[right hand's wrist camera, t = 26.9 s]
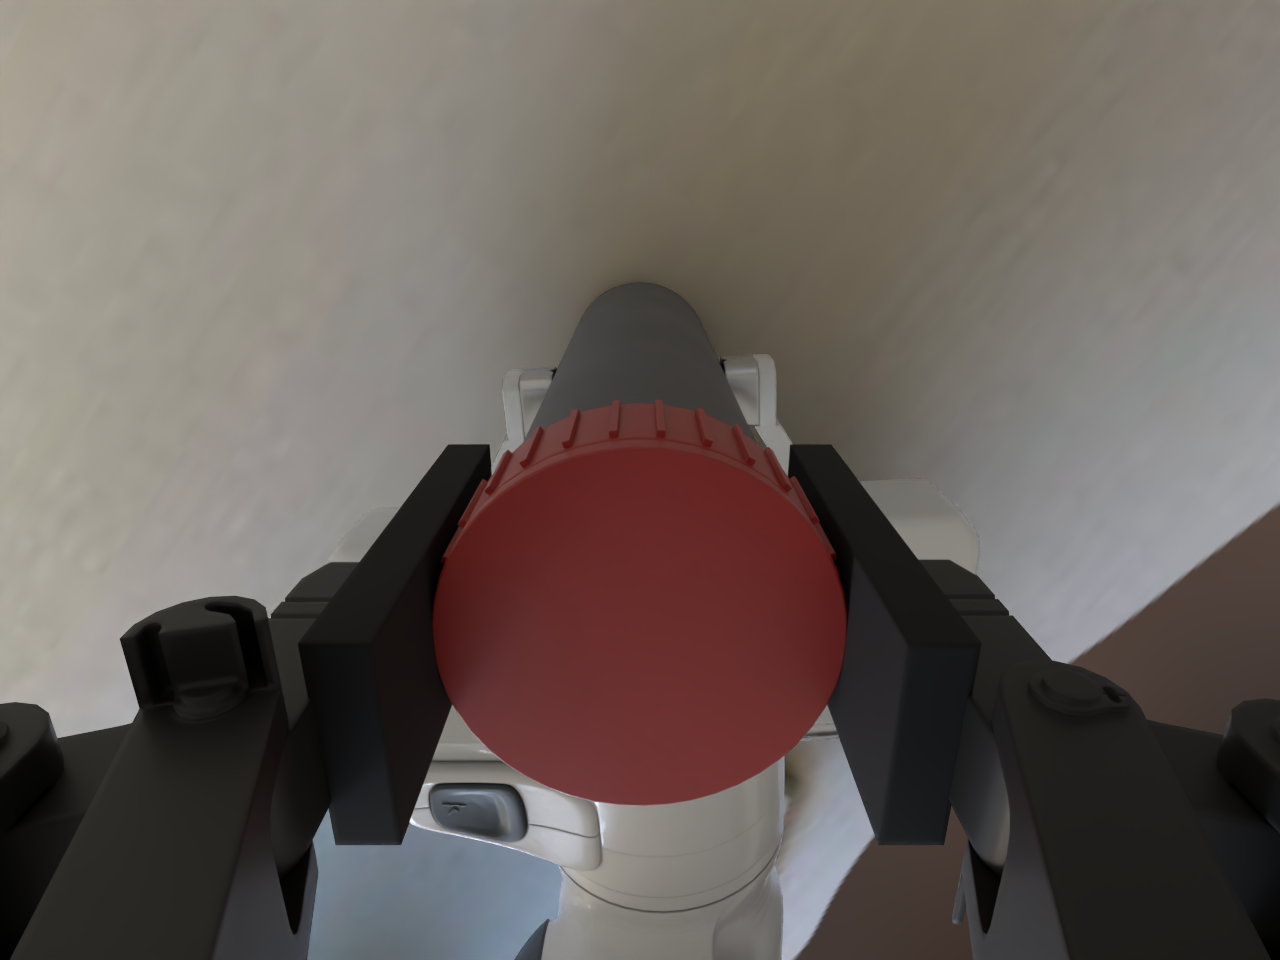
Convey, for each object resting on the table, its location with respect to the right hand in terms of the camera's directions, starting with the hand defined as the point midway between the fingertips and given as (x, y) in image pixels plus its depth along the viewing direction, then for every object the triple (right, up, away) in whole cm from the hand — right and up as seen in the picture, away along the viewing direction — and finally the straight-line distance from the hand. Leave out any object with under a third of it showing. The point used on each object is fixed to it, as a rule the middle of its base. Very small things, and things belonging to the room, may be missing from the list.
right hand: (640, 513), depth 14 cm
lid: (0, -1, -4) cm, 4 cm away
